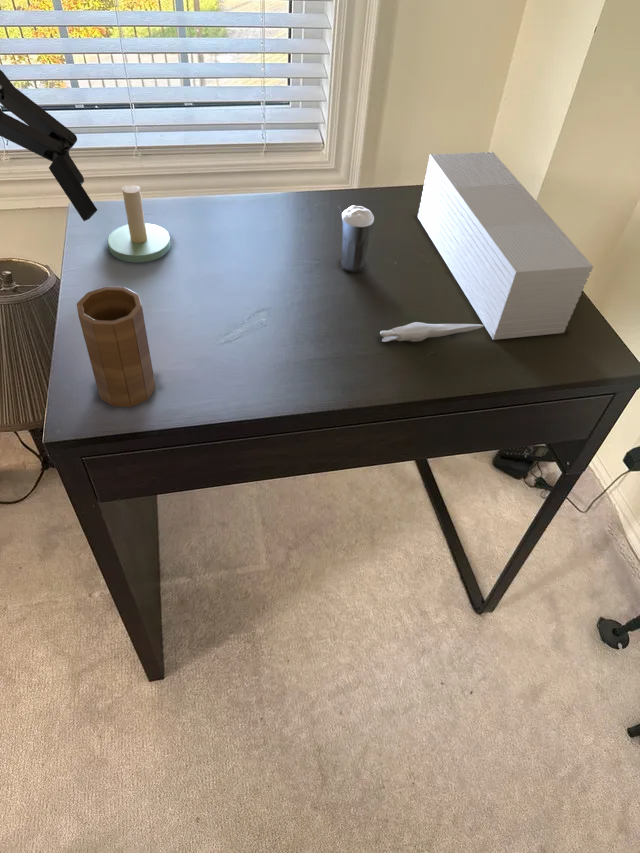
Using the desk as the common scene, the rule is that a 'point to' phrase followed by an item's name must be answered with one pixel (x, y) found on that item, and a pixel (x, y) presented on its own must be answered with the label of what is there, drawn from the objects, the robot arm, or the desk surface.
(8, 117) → the robot arm
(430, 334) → the white tapered spindle
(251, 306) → the desk surface
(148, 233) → the holder
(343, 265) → the milkshake
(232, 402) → the desk surface
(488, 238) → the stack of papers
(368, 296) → the desk surface
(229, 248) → the desk surface
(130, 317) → the tube
